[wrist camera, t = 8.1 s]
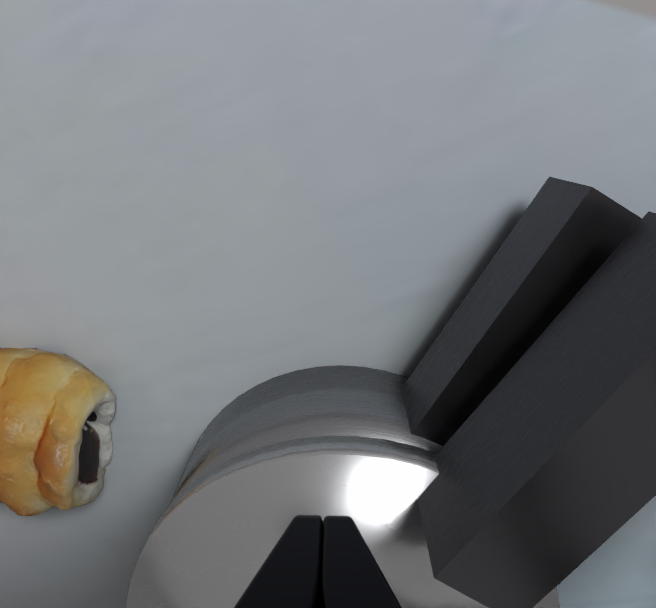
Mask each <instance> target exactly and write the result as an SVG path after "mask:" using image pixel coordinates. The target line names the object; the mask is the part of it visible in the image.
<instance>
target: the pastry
mask: <svg viewBox="0 0 656 608" xmlns="http://www.w3.org/2000/svg"><path fill="white" fill-rule="evenodd" d="M114 414H115V395H114V394H113V392H112V390H111V389H110V387H109V386H108V385H107V384H106V383H105V382H104V381H103V380H102V379H100V378H99V377H98V376H96V375H95V374H94V373H92V372H91V371H90V370H89V369H87V368H86V367H85V366H84V365H82V364H81V363H79V362H78V361H76V360H74V359H73V358H71V357H68V356H67V355H64V354H57V353H52V352H46V351H42V350H38V349H37V348H24V349H18V348H0V503H2V502H3V503H5V504H6V505H7V506H9V507H10V508H11V509H12V510H13V511H14V512H15V513H16V514H18V515H20V516H33V515H37V514H40V513H42V512H44V511H46V510H48V509H49V508H52V507H55V506H56V507H58V508H59V509H61V510H68V509H70V508H73V507H77V506H82V505H84V504H86V503H89V502H91V501H94V499H95V498H96V497H97V496H98V494H99V493H100V492H101V491H102V489H103V482H104V473H105V466H106V465H107V464H109V463H110V461H111V458H112V451H113V444H112V434H111V430H110V427H109V423H110V421H111V420H112V419H113V417H114Z"/></svg>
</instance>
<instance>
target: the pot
mask: <svg viewBox="0 0 656 608" xmlns="http://www.w3.org/2000/svg"><path fill="white" fill-rule="evenodd" d="M641 220H642V218H640V217H638V216H637V215H635V214H634V213H632V212H631V211H629V210H627V209H626V208H624V207H623V206H621V205H620V204H618V203H616V202H615V201H613V200H612V199H610V198H609V197H607V196H605V195H604V194H602V193H601V192H599V191H598V190H596V189H594V188H593V187H590V186H586V185H581V184H577V183H573V182H569V181H565V180H561V179H556V178H552V177H549V178H548V179H547V181H546V182H545V184H544V185H543V186H542V188H541V189H540V191H539V192H538V194H537V195H536V197H535V198H534V199H533V201H532V202H531V204H530V205H529V207H528V208H527V209H526V211H525V212H524V214H523V215H522V217H521V218H520V219H519V221H518V222H517V224H516V225H515V227H514V228H513V229H512V231H511V232H510V234H509V235H508V237H507V238H506V239H505V241H504V242H503V244H502V245H501V247H500V248H499V249H498V251H497V252H496V254H495V255H494V257H493V258H492V259H491V261H490V262H489V264H488V265H487V267H486V268H485V269H484V271H483V272H482V274H481V275H480V277H479V278H478V279H477V281H476V282H475V284H474V285H473V287H472V288H471V289H470V291H469V292H468V294H467V295H466V297H465V298H464V300H463V301H462V302H461V304H460V305H459V307H458V308H457V310H456V311H455V312H454V314H453V315H452V317H451V318H450V320H449V321H448V322H447V324H446V325H445V327H444V328H443V330H442V331H441V332H440V334H439V335H438V337H437V338H436V340H435V341H434V342H433V344H432V345H431V347H430V348H429V350H428V351H427V352H426V354H425V355H424V357H423V358H422V360H421V361H420V362H419V364H418V365H417V367H416V368H415V370H414V371H413V372H412V374H411V375H410V377H409V378H407V377H403V376H400V375H397V374H394V373H390V372H387V371H383V370H377V369H372V368H366V367H356V366H324V367H314V368H309V369H303V370H297V371H294V372H290V373H287V374H284V375H281V376H277V377H274V378H272V379H270V380H268V381H265V382H263V383H261V384H259V385H257V386H255V387H253V388H252V389H250V390H248V391H247V392H245V393H243V394H242V395H240V396H239V397H237V398H236V399H235V400H234V401H232V402H231V403H230V404H229V405H227V406H226V407H225V408H224V409H223V410H222V411H221V412H220V413H219V414H218V415H217V416H216V417H215V418H214V420H213V421H212V422H211V423H210V424H209V426H208V427H207V429H206V430H205V432H204V433H203V435H202V436H201V438H200V439H199V441H198V443H197V446H196V448H195V450H194V452H193V454H192V456H191V459H190V461H189V463H188V465H187V468H186V470H185V472H184V474H183V476H182V479H181V481H180V483H179V485H178V488H177V490H176V492H175V494H174V497H173V499H172V501H171V503H172V502H173V500H174V499H175V498H176V497H177V496H178V495H180V494H181V493H182V492H183V491H184V490H185V489H186V488H187V487H188V486H189V485H191V484H192V483H193V482H194V481H196V480H197V479H199V478H200V477H202V476H203V475H204V474H206V473H207V472H209V471H210V470H212V469H213V468H215V467H217V466H219V465H221V464H223V463H225V462H227V461H229V460H231V459H233V458H235V457H237V456H239V455H241V454H244V453H247V452H250V451H253V450H255V449H258V448H261V447H264V446H267V445H271V444H276V443H280V442H285V441H289V440H294V439H301V438H310V437H319V436H361V437H369V438H378V439H386V440H391V441H395V442H399V443H403V444H408V445H412V446H416V447H419V448H422V449H424V450H427V451H430V452H433V453H435V454H437V453H438V452H439V451H440V450H441V449H442V447H443V446H444V445H445V444H446V443H447V442H448V441H449V439H450V438H451V437H452V436H453V435H454V434H455V433H456V431H457V430H458V429H459V428H460V427H461V426H462V424H463V423H464V422H465V421H466V420H467V419H468V418H469V416H470V415H471V414H472V413H473V412H474V411H475V410H476V408H477V407H478V406H479V405H480V404H481V403H482V402H483V400H484V399H485V398H486V397H487V396H488V395H489V394H490V392H491V391H492V390H493V389H494V388H495V387H496V386H497V384H498V383H499V382H500V381H501V380H502V379H503V378H504V376H505V375H506V374H507V373H508V372H509V371H510V370H511V368H512V367H513V366H514V365H515V364H516V363H517V362H518V360H519V359H520V358H521V357H522V356H523V355H524V354H525V352H526V351H527V350H528V349H529V348H530V347H531V346H532V344H533V343H534V342H535V341H536V340H537V339H538V338H539V336H540V335H541V334H542V333H543V332H544V331H545V330H546V328H547V327H548V326H549V325H550V324H551V323H552V322H553V320H554V319H555V318H556V317H557V316H558V315H559V314H560V312H561V311H562V310H563V309H564V308H565V307H566V306H567V304H568V303H569V302H570V301H571V300H572V299H573V298H574V296H575V295H576V294H577V293H578V292H579V291H580V289H581V288H582V287H583V286H584V285H585V284H586V283H587V281H588V280H589V279H590V278H591V277H592V276H593V275H594V273H595V272H596V271H597V270H598V269H599V268H600V267H601V265H602V264H603V263H604V262H605V261H606V260H607V259H608V257H609V256H610V255H611V254H612V253H613V252H614V251H615V249H616V248H617V247H618V246H619V245H620V244H621V243H622V241H623V240H624V239H625V238H626V237H627V236H628V235H629V233H630V232H631V231H632V230H633V229H634V228H635V227H636V225H637V224H638V223H639V222H640V221H641ZM171 503H170V504H171Z"/></svg>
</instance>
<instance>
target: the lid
mask: <svg viewBox="0 0 656 608" xmlns="http://www.w3.org/2000/svg"><path fill="white" fill-rule="evenodd" d="M655 495H656V213H652V212H648V213H647V214H646V215H645V216H644V217H643V219H642V220H641V221H640V222H639V223H638V224H637V225H636V227H635V228H634V229H633V230H632V231H631V232H630V233H629V235H628V236H627V237H626V238H625V239H624V240H623V241H622V243H621V244H620V245H619V246H618V247H617V248H616V249H615V251H614V252H613V253H612V254H611V255H610V256H609V257H608V259H607V260H606V261H605V262H604V263H603V264H602V265H601V267H600V268H599V269H598V270H597V271H596V272H595V273H594V275H593V276H592V277H591V278H590V279H589V280H588V281H587V283H586V284H585V285H584V286H583V287H582V288H581V289H580V291H579V292H578V293H577V294H576V295H575V296H574V298H573V299H572V300H571V301H570V302H569V303H568V304H567V306H566V307H565V308H564V309H563V310H562V311H561V312H560V314H559V315H558V316H557V317H556V318H555V319H554V320H553V322H552V323H551V324H550V325H549V326H548V327H547V328H546V330H545V331H544V332H543V333H542V334H541V335H540V336H539V338H538V339H537V340H536V341H535V342H534V343H533V344H532V346H531V347H530V348H529V349H528V350H527V351H526V352H525V354H524V355H523V356H522V357H521V358H520V359H519V360H518V362H517V363H516V364H515V365H514V366H513V367H512V368H511V370H510V371H509V372H508V373H507V374H506V375H505V376H504V378H503V379H502V380H501V381H500V382H499V383H498V384H497V386H496V387H495V388H494V389H493V390H492V391H491V392H490V394H489V395H488V396H487V397H486V398H485V399H484V400H483V402H482V403H481V404H480V405H479V406H478V407H477V408H476V410H475V411H474V412H473V413H472V414H471V415H470V416H469V418H468V419H467V420H466V421H465V422H464V423H463V424H462V426H461V427H460V428H459V429H458V430H457V431H456V433H455V434H454V435H453V436H452V437H451V438H450V439H449V441H448V442H447V443H446V444H445V445H444V446H443V447H442V449H441V450H440V451H439V452H438V453H437V454H435V453H433V452H430V451H427V450H424V449H422V448H419V447H416V446H412V445H408V444H403V443H399V442H395V441H391V440H386V439H378V438H369V437H361V436H319V437H310V438H301V439H294V440H289V441H285V442H280V443H276V444H271V445H267V446H264V447H261V448H258V449H255V450H253V451H250V452H247V453H244V454H241V455H239V456H237V457H235V458H233V459H231V460H229V461H227V462H225V463H223V464H221V465H219V466H217V467H215V468H213V469H212V470H210V471H209V472H207V473H206V474H204V475H203V476H202V477H200V478H199V479H197V480H196V481H194V482H193V483H192V484H191V485H189V486H188V487H187V488H186V489H185V490H184V491H183V492H182V493H181V494H180V495H178V496H177V497H176V498H175V499H174V500H173V502H172V503H171V504H170V505H169V506H168V508H167V509H166V510H165V511H164V513H163V514H162V515H161V516H160V518H159V519H158V521H157V523H156V525H155V526H154V528H153V530H152V532H151V533H150V535H149V537H148V539H147V541H146V543H145V546H144V548H143V550H142V552H141V554H140V556H139V558H138V561H137V563H136V566H135V569H134V572H133V574H132V577H131V580H130V583H129V589H128V595H127V601H126V608H234V606H235V605H236V603H237V602H238V600H239V599H240V597H241V596H242V594H243V593H244V591H245V590H246V588H247V587H248V585H249V584H250V582H251V581H252V579H253V578H254V576H255V575H256V573H257V572H258V570H259V569H260V567H261V566H262V564H263V563H264V561H265V560H266V558H267V557H268V555H269V554H270V552H271V551H272V549H273V548H274V546H275V545H276V543H277V542H278V540H279V539H280V537H281V536H282V534H283V533H284V531H285V530H286V528H287V527H288V525H289V524H290V522H291V521H292V519H293V518H294V517H295V516H297V515H319V516H321V517H322V519H323V520H324V518H325V517H326V516H328V515H333V516H350V517H351V518H352V519H353V520H354V522H355V524H356V526H357V528H358V529H359V531H360V533H361V535H362V537H363V538H364V540H365V542H366V544H367V546H368V547H369V549H370V551H371V553H372V555H373V556H374V558H375V560H376V562H377V564H378V565H379V567H380V569H381V571H382V573H383V574H384V576H385V578H386V580H387V582H388V584H389V585H390V587H391V589H392V591H393V593H394V594H395V596H396V598H397V600H398V602H399V603H400V605H401V607H402V608H560V605H559V599H558V593H557V587H556V586H557V585H558V584H559V583H560V582H561V581H563V580H564V579H565V578H566V577H567V576H568V575H569V574H570V573H571V572H572V571H573V570H575V569H576V568H577V567H578V566H579V565H580V564H581V563H582V562H583V561H584V560H585V559H587V558H588V557H589V556H590V555H591V554H592V553H593V552H594V551H595V550H596V549H597V548H598V547H600V546H601V545H602V544H603V543H604V542H605V541H606V540H607V539H608V538H609V537H610V536H612V535H613V534H614V533H615V532H616V531H617V530H618V529H619V528H620V527H621V526H622V525H624V524H625V523H626V522H627V521H628V520H629V519H630V518H631V517H632V516H633V515H634V514H636V513H637V512H638V511H639V510H640V509H641V508H642V507H643V506H644V505H645V504H646V503H648V502H649V501H650V500H651V499H652V498H653V497H654V496H655Z"/></svg>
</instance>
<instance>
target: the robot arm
mask: <svg viewBox="0 0 656 608" xmlns="http://www.w3.org/2000/svg"><path fill="white" fill-rule="evenodd" d="M234 608H402V607H401V605H400V603H399V602H398V600H397V598H396V596H395V594H394V593H393V591H392V589H391V587H390V585H389V584H388V582H387V580H386V578H385V576H384V574H383V573H382V571H381V569H380V567H379V565H378V564H377V562H376V560H375V558H374V556H373V555H372V553H371V551H370V549H369V547H368V546H367V544H366V542H365V540H364V538H363V537H362V535H361V533H360V531H359V529H358V528H357V526H356V524H355V522H354V520H353V519H352V518H351V517H350V516H333V515H328V516H326V517H325V518H324V520H323V519H322V517H321V516H319V515H297V516H295V517H294V518H293V519H292V521H291V522H290V524H289V525H288V527H287V528H286V530H285V531H284V533H283V534H282V536H281V537H280V539H279V540H278V542H277V543H276V545H275V546H274V548H273V549H272V551H271V552H270V554H269V555H268V557H267V558H266V560H265V561H264V563H263V564H262V566H261V567H260V569H259V570H258V572H257V573H256V575H255V576H254V578H253V579H252V581H251V582H250V584H249V585H248V587H247V588H246V590H245V591H244V593H243V594H242V596H241V597H240V599H239V600H238V602H237V603H236V605H235V606H234Z"/></svg>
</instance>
